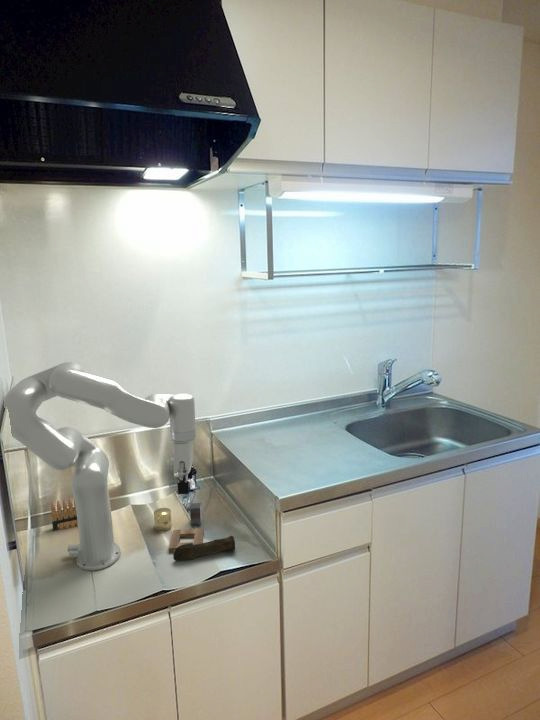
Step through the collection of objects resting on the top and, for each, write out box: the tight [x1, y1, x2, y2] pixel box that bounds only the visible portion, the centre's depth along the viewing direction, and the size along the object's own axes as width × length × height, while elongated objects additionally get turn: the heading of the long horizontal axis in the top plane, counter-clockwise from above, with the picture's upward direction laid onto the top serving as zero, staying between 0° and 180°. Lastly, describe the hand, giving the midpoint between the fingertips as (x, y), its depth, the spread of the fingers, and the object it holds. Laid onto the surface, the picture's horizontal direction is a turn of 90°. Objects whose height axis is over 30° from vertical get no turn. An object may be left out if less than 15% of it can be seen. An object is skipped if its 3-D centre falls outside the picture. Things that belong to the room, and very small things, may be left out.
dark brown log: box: [172, 535, 236, 562], centre depth 140 cm, size 19×4×5 cm, turn 106°
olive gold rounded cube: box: [153, 507, 173, 533], centre depth 154 cm, size 6×6×6 cm
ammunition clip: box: [50, 497, 78, 532], centre depth 154 cm, size 11×2×12 cm, turn 113°
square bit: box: [189, 502, 203, 526], centre depth 157 cm, size 3×3×7 cm
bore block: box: [168, 527, 205, 554], centre depth 146 cm, size 10×10×2 cm
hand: (185, 485), depth 142 cm, fingers open, 9 cm apart
